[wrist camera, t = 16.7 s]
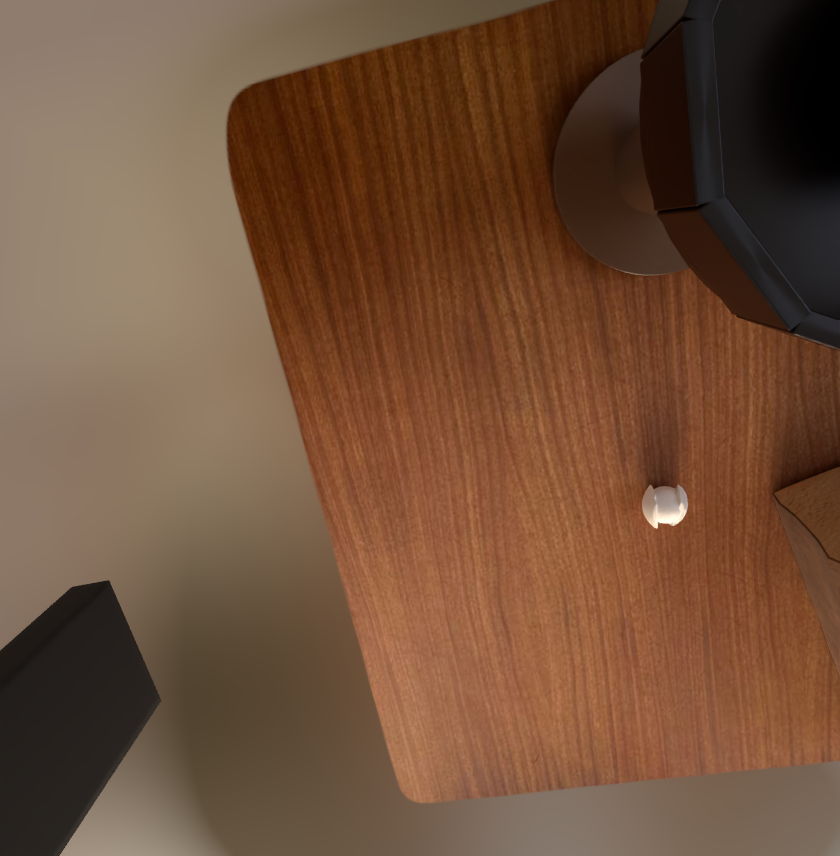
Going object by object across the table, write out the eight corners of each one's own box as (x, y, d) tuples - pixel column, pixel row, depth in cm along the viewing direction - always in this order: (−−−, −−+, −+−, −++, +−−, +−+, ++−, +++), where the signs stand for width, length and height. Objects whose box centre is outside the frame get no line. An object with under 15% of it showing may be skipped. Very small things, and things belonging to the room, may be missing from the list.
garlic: (646, 469, 54) (630, 513, 55) (655, 486, 50) (638, 532, 52) (702, 481, 53) (684, 525, 55) (714, 499, 50) (695, 544, 52)
